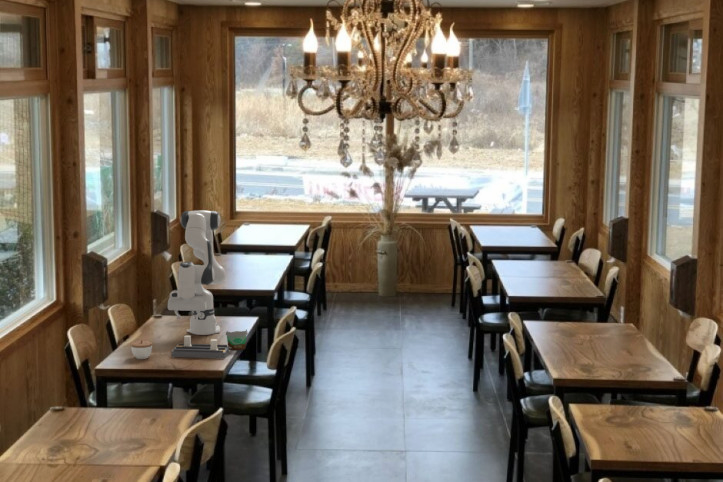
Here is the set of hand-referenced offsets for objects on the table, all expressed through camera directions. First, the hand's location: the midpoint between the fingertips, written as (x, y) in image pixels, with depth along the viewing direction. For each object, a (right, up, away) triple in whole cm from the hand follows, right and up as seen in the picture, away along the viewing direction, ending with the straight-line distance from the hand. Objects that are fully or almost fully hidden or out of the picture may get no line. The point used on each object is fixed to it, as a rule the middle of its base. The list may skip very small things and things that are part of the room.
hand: (187, 318), depth 565 cm
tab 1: (0, -15, +2) cm, 15 cm away
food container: (+26, -18, +11) cm, 33 cm away
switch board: (+7, -19, -1) cm, 20 cm away
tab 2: (+15, -16, -5) cm, 23 cm away
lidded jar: (-22, -20, -9) cm, 31 cm away
